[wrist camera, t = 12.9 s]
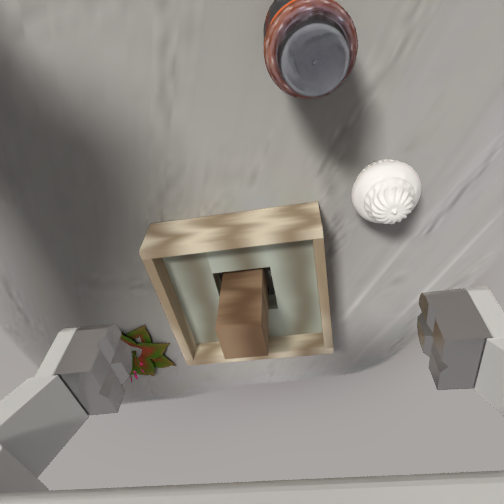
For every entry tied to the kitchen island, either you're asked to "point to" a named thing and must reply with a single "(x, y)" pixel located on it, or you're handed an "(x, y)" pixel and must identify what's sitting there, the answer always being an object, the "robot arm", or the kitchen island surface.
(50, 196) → the kitchen island surface
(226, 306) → the peg
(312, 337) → the peg box
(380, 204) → the white ribbed rounded lump
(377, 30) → the kitchen island surface
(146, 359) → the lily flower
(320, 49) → the supplement bottle
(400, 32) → the kitchen island surface
